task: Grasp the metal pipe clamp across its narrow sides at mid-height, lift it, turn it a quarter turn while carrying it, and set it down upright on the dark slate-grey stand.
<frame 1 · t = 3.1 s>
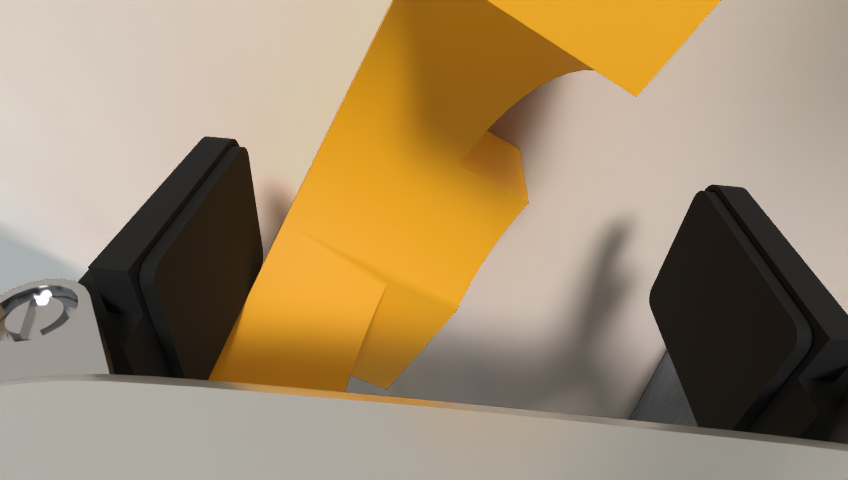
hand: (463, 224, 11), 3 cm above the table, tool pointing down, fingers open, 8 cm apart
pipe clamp: (435, 118, 13), on the table, touching gripper
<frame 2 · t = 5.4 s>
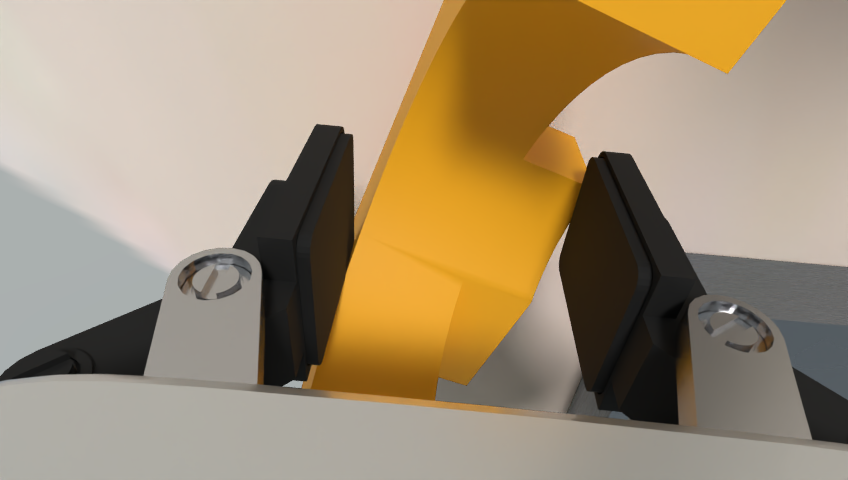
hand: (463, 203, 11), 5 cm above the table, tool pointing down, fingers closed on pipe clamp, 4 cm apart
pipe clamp: (488, 117, 13), point 2 cm above the table, touching gripper
slate stand: (784, 368, 22), on the table
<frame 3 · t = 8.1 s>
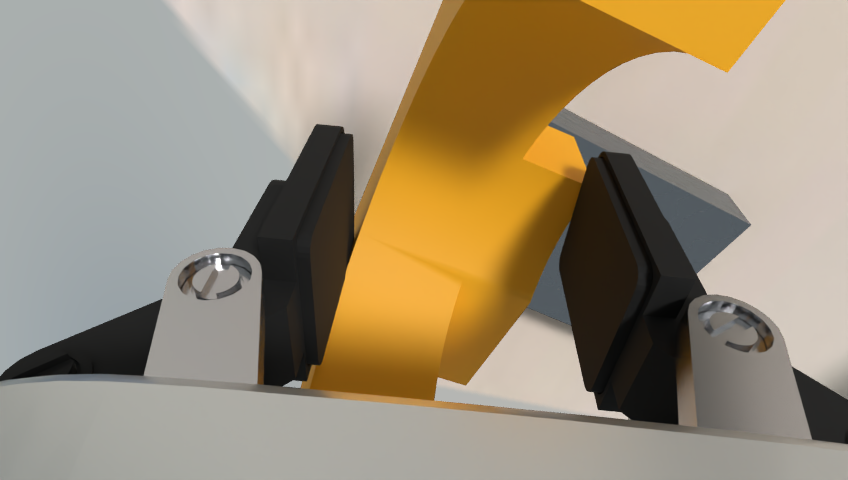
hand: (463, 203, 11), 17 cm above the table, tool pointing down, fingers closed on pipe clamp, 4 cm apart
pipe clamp: (488, 116, 13), point 14 cm above the table, touching gripper
slate stand: (557, 209, 31), on the table
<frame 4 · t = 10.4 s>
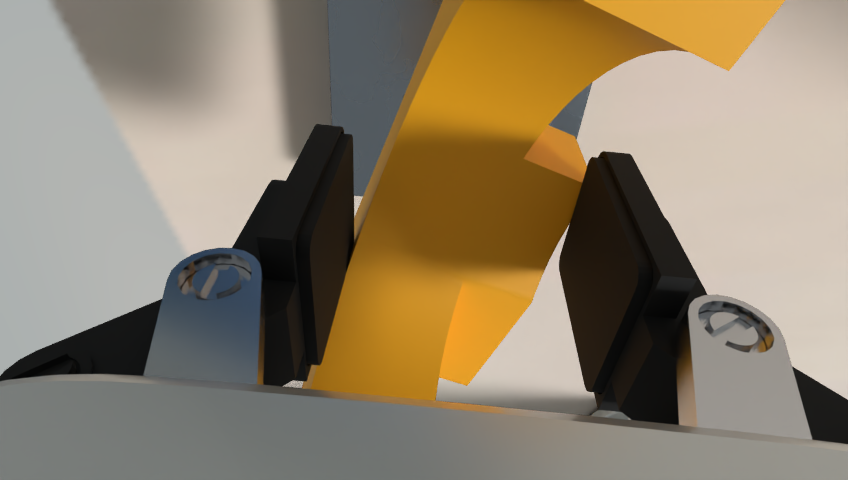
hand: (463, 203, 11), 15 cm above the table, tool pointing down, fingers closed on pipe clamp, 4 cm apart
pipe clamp: (488, 116, 13), point 12 cm above the table, touching gripper
slate stand: (464, 18, 23), on the table
when the fingers open (6 cm above the table, at t = 12.7 s): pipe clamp stays where it is, resting on slate stand.
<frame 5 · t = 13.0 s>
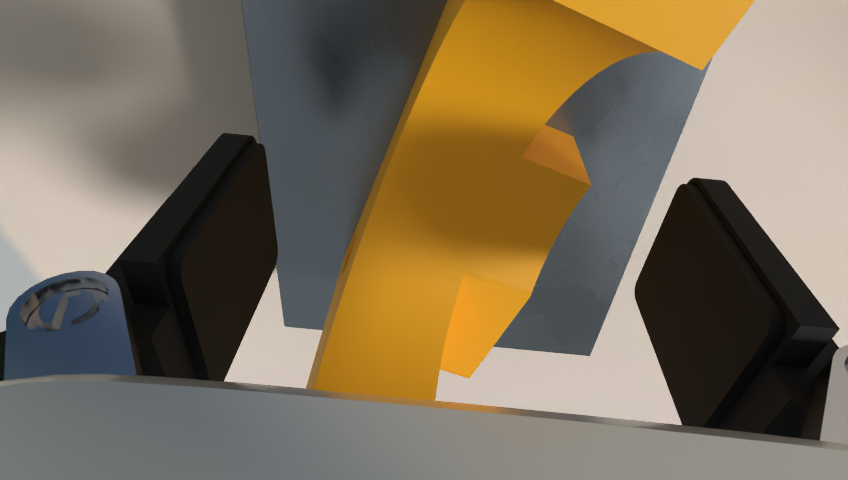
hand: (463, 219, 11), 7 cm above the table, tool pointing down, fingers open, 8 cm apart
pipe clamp: (490, 117, 14), point 3 cm above the table, touching slate stand
slate stand: (463, 95, 16), on the table
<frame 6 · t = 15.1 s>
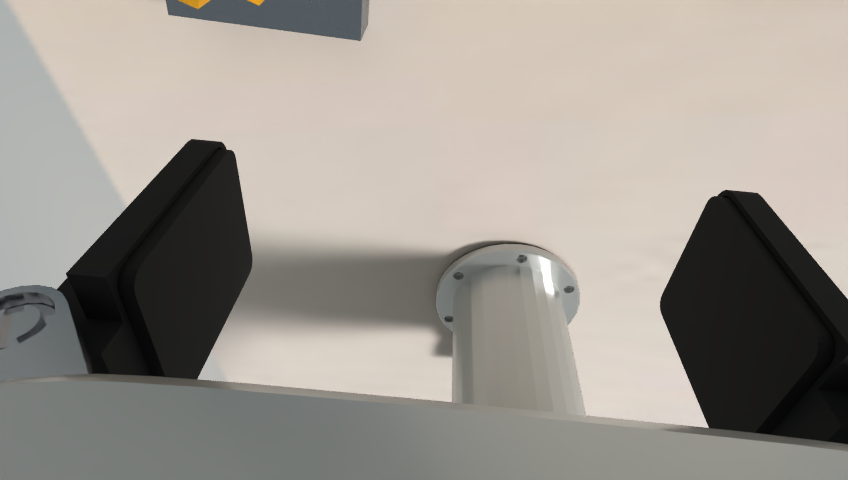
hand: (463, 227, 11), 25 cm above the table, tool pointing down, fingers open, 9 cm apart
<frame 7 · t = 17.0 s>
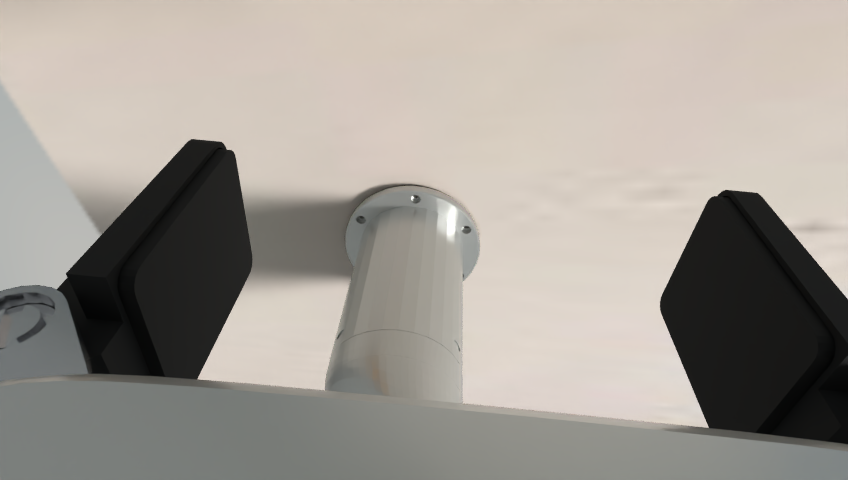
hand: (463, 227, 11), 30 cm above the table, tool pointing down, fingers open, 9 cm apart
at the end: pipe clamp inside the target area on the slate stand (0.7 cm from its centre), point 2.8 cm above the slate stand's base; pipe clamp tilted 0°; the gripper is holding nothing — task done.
